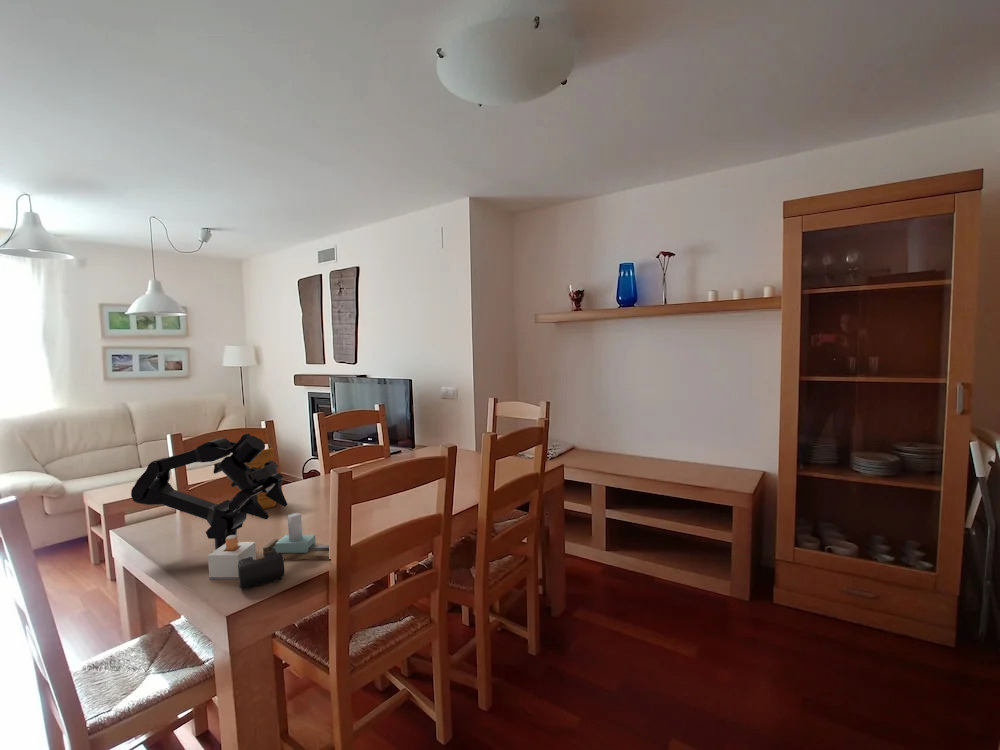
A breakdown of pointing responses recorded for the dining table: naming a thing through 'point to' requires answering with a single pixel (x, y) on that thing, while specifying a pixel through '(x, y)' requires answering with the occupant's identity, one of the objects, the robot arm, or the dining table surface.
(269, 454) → the coffee package
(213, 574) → the cabinet
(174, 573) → the dining table surface
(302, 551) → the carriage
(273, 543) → the rail
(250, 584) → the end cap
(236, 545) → the cylinder
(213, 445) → the robot arm
